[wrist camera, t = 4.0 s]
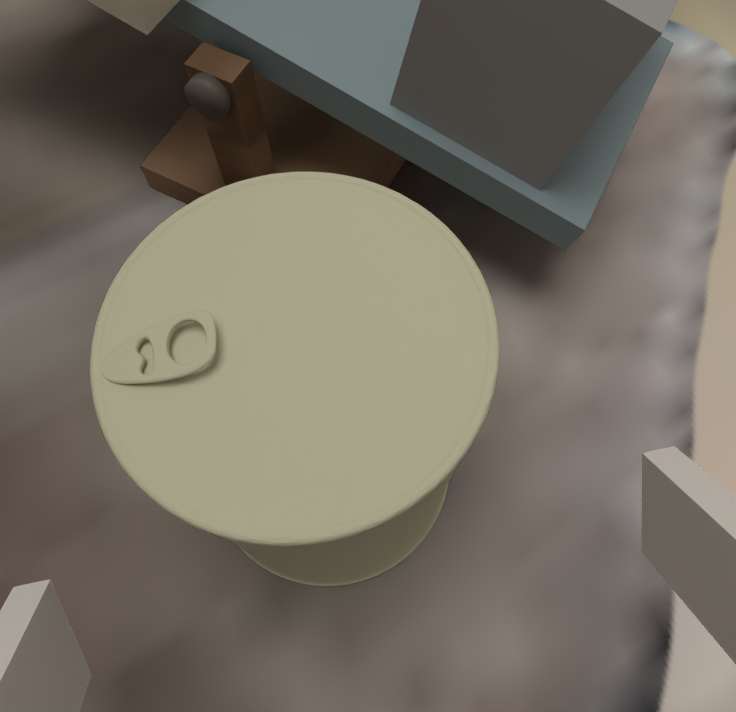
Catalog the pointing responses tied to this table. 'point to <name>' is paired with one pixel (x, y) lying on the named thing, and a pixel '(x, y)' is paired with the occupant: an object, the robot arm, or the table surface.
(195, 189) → the pivot stand
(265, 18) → the balance beam
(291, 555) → the can
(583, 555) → the table surface
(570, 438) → the table surface
